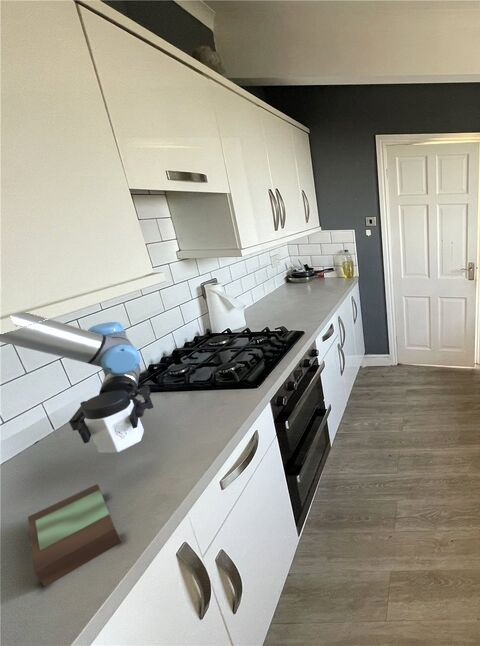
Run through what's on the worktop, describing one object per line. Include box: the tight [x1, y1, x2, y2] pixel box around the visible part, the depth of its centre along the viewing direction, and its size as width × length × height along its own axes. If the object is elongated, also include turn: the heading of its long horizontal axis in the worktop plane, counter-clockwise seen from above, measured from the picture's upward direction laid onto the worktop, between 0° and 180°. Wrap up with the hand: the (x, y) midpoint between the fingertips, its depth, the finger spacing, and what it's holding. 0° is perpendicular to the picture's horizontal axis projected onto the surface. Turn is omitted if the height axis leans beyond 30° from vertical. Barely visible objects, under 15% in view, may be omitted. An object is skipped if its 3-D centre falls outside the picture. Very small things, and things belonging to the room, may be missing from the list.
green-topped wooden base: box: [27, 483, 122, 588], centre depth 72 cm, size 18×11×5 cm, turn 50°
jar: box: [80, 390, 145, 454], centre depth 82 cm, size 9×8×12 cm
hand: (109, 430), depth 78 cm, fingers closed on jar, 8 cm apart
